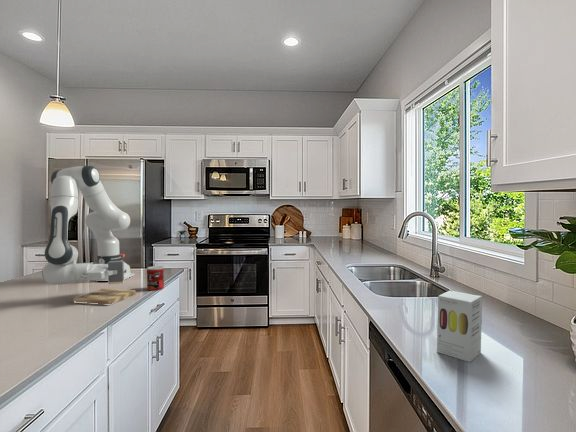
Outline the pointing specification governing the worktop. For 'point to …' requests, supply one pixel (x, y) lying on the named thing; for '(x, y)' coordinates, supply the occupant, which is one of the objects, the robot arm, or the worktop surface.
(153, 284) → the canned food
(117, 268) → the block
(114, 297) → the oak board
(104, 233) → the robot arm
